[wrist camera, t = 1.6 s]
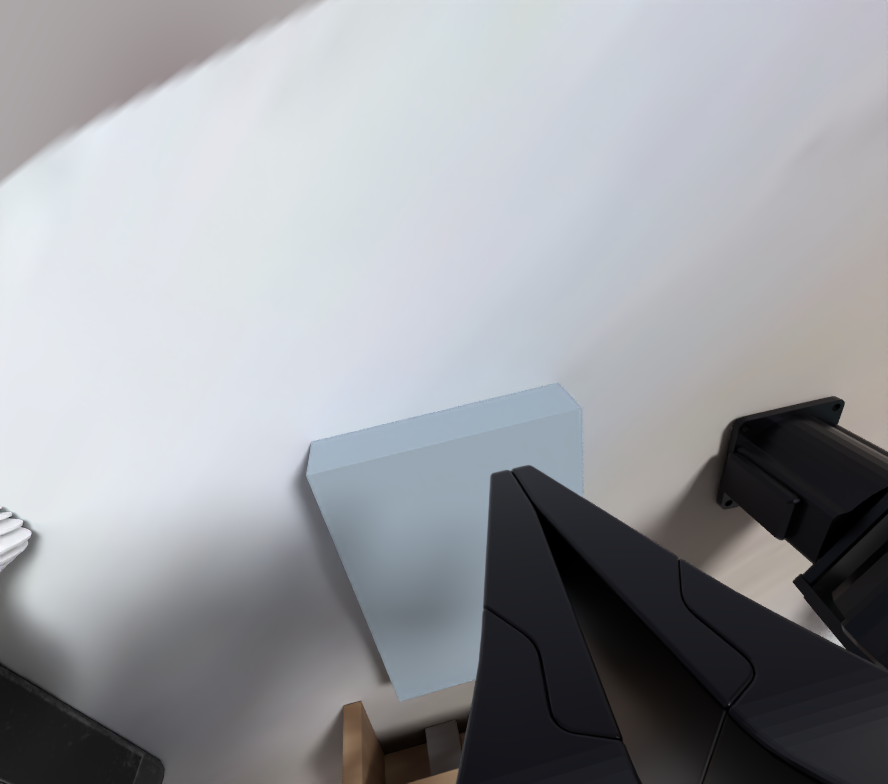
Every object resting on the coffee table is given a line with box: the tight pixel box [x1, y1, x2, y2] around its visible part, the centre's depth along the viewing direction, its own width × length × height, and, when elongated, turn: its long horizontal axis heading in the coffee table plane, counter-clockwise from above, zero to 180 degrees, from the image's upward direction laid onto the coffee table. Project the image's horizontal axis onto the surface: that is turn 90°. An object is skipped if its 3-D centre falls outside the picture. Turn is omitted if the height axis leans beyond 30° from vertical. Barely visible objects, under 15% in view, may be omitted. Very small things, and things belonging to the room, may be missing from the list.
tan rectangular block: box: [342, 701, 466, 784], centre depth 30 cm, size 20×9×6 cm, turn 98°
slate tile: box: [306, 383, 583, 702], centre depth 24 cm, size 12×18×3 cm, turn 10°
